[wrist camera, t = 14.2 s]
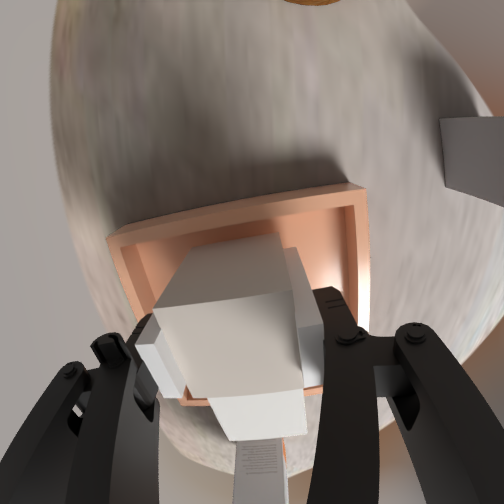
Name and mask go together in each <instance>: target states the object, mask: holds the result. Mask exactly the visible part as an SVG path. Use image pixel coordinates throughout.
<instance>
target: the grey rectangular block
mask: <svg viewBox="0 0 504 504" xmlns="http://www.w3.org/2000/svg"><path fill="white" fill-rule="evenodd" d="M439 123H440V130H441V137H442V146H443V156H444V168H445V187H446V188H450V189H453V190H456V191H459V192H463V193H466V194H469V195H472V196H475V197H477V198H480V199H483V200H486V201H489V202H491V203H494V204H497V205H499V206H502V207H504V117H459V118H443V119H439Z"/></svg>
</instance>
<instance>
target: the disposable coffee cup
mask: <svg viewBox="0 0 504 504" xmlns="http://www.w3.org/2000/svg"><path fill="white" fill-rule="evenodd" d="M285 1H288V2H291V3H296V4H301V5H315V6H319V5H328V4H331V3H335V2H338V1H340V0H285Z"/></svg>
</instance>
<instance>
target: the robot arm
mask: <svg viewBox="0 0 504 504" xmlns="http://www.w3.org/2000/svg"><path fill="white" fill-rule="evenodd" d="M283 251H284V256H285V260H286V264H287V269H288V273H289V277H290V282H291V286H292V291H293V298H294V306H295V312H294V313H295V320H296V328H297V336H298V344H299V352H300V360H301V369H302V376H303V382H304V388H306V387H312V386H318V385H323V393H322V404H321V413H320V422H319V430H318V438H317V446H316V453H315V459H314V466H313V472H312V478H311V483H310V489H309V494H308V499H307V504H378V499H379V467H380V465H379V464H380V460H379V424H378V408H377V397H386V399H387V401H388V403H389V406H390V408H391V410H392V413H393V415H394V417H395V420H396V422H397V425H398V427H399V429H400V432H401V434H402V437H403V439H404V442H405V444H406V447H407V450H408V452H409V455H410V457H411V460H412V463H413V465H414V468H415V471H416V474H417V477H418V479H419V482H420V484H421V488H422V491H423V494H424V497H425V500H426V503H427V504H504V429H503V427H502V426H501V424H500V422H499V421H498V419H497V417H496V416H495V414H494V413H493V411H492V409H491V408H490V406H489V405H488V403H487V402H486V400H485V399H484V397H483V396H482V394H481V393H480V391H479V390H478V389H477V387H476V386H475V384H474V383H473V381H472V380H471V379H470V377H469V376H468V375H467V373H466V372H465V370H464V369H463V368H462V366H461V365H460V364H459V362H458V361H457V360H456V358H455V357H454V356H453V354H452V353H451V352H450V350H449V349H448V348H447V347H446V345H445V344H444V343H443V342H442V340H441V339H440V338H439V337H438V335H437V334H436V333H435V332H434V330H433V329H431V328H430V327H429V326H427V325H425V324H422V323H415V322H413V323H407V324H405V325H402V326H400V327H399V328H398V330H397V331H396V334H395V337H376V336H371V335H369V334H368V332H367V330H365V329H364V328H363V327H360V326H358V325H357V323H356V321H355V319H354V317H353V315H352V313H351V311H350V309H349V307H348V305H347V304H346V302H345V300H344V298H343V296H342V294H341V292H340V291H339V290H337V289H336V288H334V287H333V286H329V287H324V288H319V289H313V290H312V289H311V286H310V283H309V280H308V278H307V275H306V272H305V269H304V267H303V264H302V261H301V259H300V256H299V253H298V251H297V248H296V247H291V248H285V249H283ZM90 347H91V348H92V350H93V352H94V354H95V355H96V357H97V359H98V360H99V362H100V367H99V368H96V369H91V370H86V368H85V367H84V365H83V364H82V363H81V362H78V361H75V362H70V363H67V364H66V365H65V366H63V367H62V368H61V369H60V370H59V372H58V373H57V375H56V376H55V377H54V379H53V380H52V381H51V383H50V384H49V386H48V387H47V389H46V390H45V391H44V393H43V394H42V396H41V397H40V399H39V400H38V402H37V403H36V404H35V406H34V408H33V409H32V411H31V412H30V414H29V415H28V417H27V418H26V420H25V421H24V423H23V424H22V426H21V428H20V429H19V431H18V432H17V434H16V436H15V437H14V439H13V441H12V443H11V444H10V446H9V448H8V449H7V451H6V453H5V455H4V456H3V458H2V460H1V462H0V504H159V485H158V484H159V482H158V442H159V414H160V404H159V401H158V399H157V398H156V394H157V391H158V389H159V390H160V392H161V394H162V395H163V397H164V398H182V397H183V393H184V390H185V386H186V381H185V379H184V377H183V375H182V373H181V371H180V369H179V367H178V365H177V363H176V360H175V358H174V356H173V354H172V352H171V350H170V347H169V345H168V343H167V341H166V338H165V336H164V334H163V331H162V329H160V327H159V324H158V322H157V319H156V317H155V314H154V312H153V313H149V314H147V315H145V316H144V317H143V318H142V319H141V320H140V321H139V322H138V324H137V326H136V329H134V331H133V332H132V334H131V335H130V337H129V339H128V340H127V342H126V344H125V342H124V340H123V338H122V336H121V335H120V334H119V333H116V332H114V333H107V334H104V335H102V336H100V337H98V338H97V339H96V340H95V341H93V343H92V344H91V346H90ZM75 404H76V405H77V407H78V408H79V409H80V410H81V412H82V413H83V414H82V415H81V416H80V417H78V416H77V415H76V413H75V412H74V411H73V410H72V409H73V407H74V405H75Z"/></svg>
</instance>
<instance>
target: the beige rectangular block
mask: <svg viewBox="0 0 504 504" xmlns="http://www.w3.org/2000/svg"><path fill="white" fill-rule="evenodd" d="M153 312H154V314H155V317H156V319H157V322H158V324H159V327H160V329H162V331H163V334H164V336H165V338H166V341H167V343H168V345H169V347H170V350H171V352H172V354H173V356H174V358H175V360H176V363H177V365H178V367H179V369H180V371H181V373H182V375H183V377H184V379H185V381H186V385H187V387H188V389H189V391H190V393H191V395H192V397H193V398H217V397H234V396H247V395H257V394H267V393H275V392H283V391H290V390H296V389H303V388H304V382H303V376H302V369H301V360H300V352H299V344H298V336H297V328H296V320H295V313H294V312H295V306H294V298H293V291H292V286H291V282H290V277H289V273H288V269H287V264H286V260H285V256H284V251H283V247H282V243H281V239H280V235H279V232H276V233H270V234H264V235H258V236H252V237H246V238H241V239H235V240H229V241H223V242H218V243H212V244H207V245H201V246H196V247H192V248H191V249H190V251H189V252H188V254H187V255H186V257H185V258H184V260H183V261H182V263H181V264H180V266H179V268H178V269H177V271H176V272H175V274H174V275H173V277H172V278H171V280H170V281H169V283H168V285H167V286H166V288H165V289H164V291H163V293H162V294H161V296H160V297H159V299H158V301H157V302H156V304H155V305H154V307H153Z"/></svg>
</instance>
